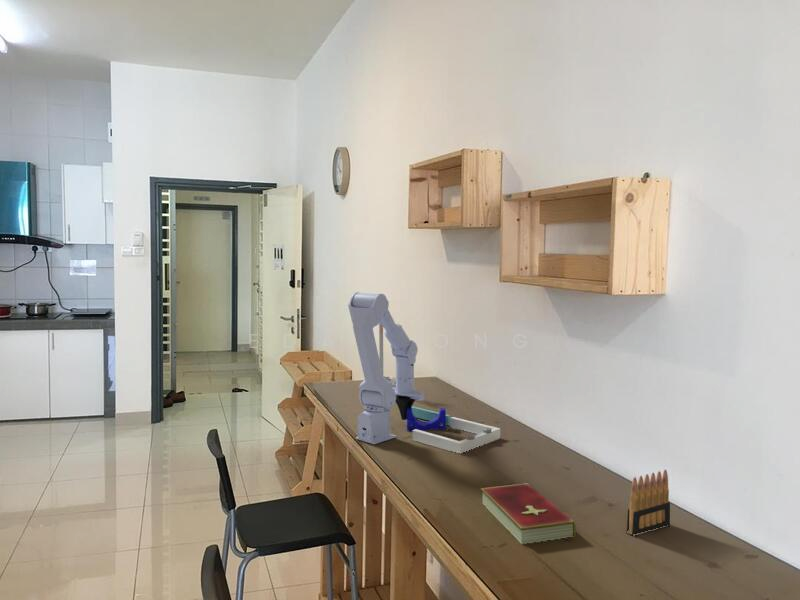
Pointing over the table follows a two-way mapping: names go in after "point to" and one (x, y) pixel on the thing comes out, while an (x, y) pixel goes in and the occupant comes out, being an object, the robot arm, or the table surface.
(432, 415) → the gate
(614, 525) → the table surface
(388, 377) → the flag stand
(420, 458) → the table surface
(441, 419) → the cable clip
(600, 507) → the table surface
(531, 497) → the hardcover book
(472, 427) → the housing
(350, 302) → the robot arm
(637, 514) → the ammunition clip
